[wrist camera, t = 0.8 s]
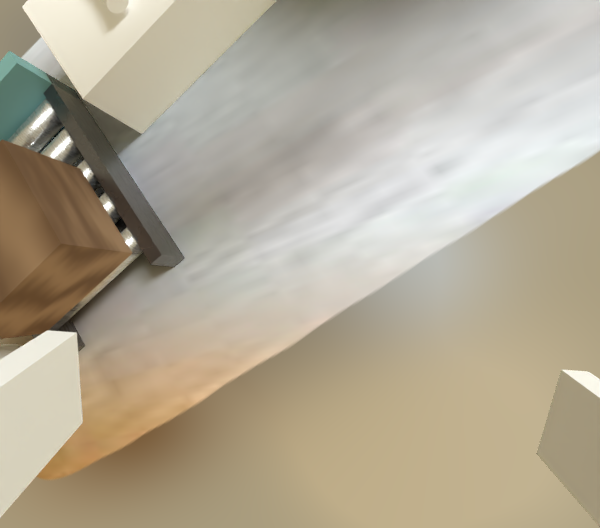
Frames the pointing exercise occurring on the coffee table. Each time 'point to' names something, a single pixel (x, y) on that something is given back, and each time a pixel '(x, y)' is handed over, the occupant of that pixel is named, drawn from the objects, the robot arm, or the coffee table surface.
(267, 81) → the coffee table surface
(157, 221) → the roller track
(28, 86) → the teal stop bar
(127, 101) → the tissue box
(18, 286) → the brown wooden block
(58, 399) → the robot arm
